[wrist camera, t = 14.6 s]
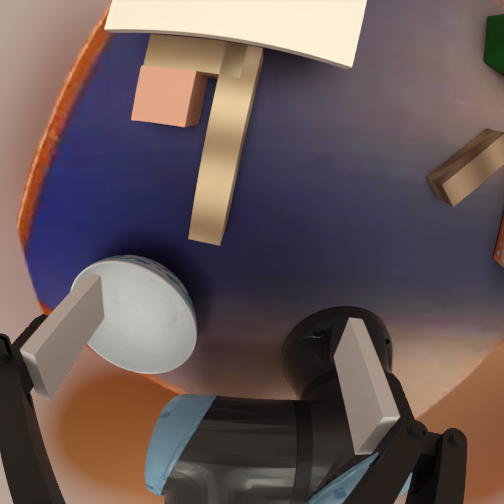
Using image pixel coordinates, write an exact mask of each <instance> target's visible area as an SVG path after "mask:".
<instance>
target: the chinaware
mask: <svg viewBox="0 0 504 504" xmlns="http://www.w3.org/2000/svg"><path fill="white" fill-rule="evenodd" d="M88 273H92V274H96V275H101V282H102V295H103V307H104V317H105V318H104V319H103V321H102V322H101V324H100V325H99V327H98V328H97V329H96V331H95V332H94V334H93V335H92V337H91V338H90V340H89V341H88V343H87V344H88V345H89V346H90V347H91V348H92V349H93V350H94V351H95V352H97V353H98V354H99V355H100V356H102V357H103V358H104V359H106V360H107V361H109V362H111V363H113V364H115V365H117V366H119V367H121V368H124V369H126V370H129V371H133V372H138V373H145V374H158V373H164V372H168V371H171V370H173V369H176V368H178V367H179V366H181V365H182V364H183V363H185V362H186V361H187V360H188V358H189V357H190V356H191V354H192V352H193V350H194V348H195V344H196V339H197V321H196V315H195V310H194V306H193V303H192V300H191V298H190V296H189V294H188V292H187V290H186V288H185V287H184V285H183V284H182V283H181V281H180V280H179V279H178V278H177V277H176V276H175V275H174V274H173V273H172V272H171V271H170V270H169V269H167V268H166V267H164V266H163V265H161V264H160V263H158V262H156V261H154V260H151V259H148V258H145V257H141V256H136V255H118V256H112V257H108V258H105V259H102V260H100V261H98V262H95V263H93V264H92V265H90V266H88V267H87V268H85V269H84V270H83V271H82V272H81V273H80V274H79V275H78V276H77V277H76V279H75V281H74V282H73V285H72V287H71V291H72V290H73V289H74V288H75V287H76V286H77V285H78V284H79V283H80V282H81V281H82V280H83V278H84V277H85V276H86V275H87V274H88ZM71 291H70V292H71Z"/></svg>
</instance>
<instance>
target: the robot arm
mask: <svg viewBox="0 0 504 504" xmlns="http://www.w3.org/2000/svg"><path fill="white" fill-rule="evenodd" d="M104 318H105V317H104V307H103V295H102V282H101V275H96V274H92V273H88V274H87V275H86V276H85V277H84V278H83V280H82V281H81V282H80V283H79V284H78V285H77V286H76V287H75V288H74V289H73V290H72V291H71V292H70V293H69V294H68V295H67V296H66V297H65V299H64V300H63V301H62V302H61V303H60V304H59V305H58V306H57V307H56V308H55V309H54V311H53V312H52V313H51V314H50V315H49V316H48V315H45V314H42V315H41V316H39V317H37V318H35V319H34V320H33V321H32V322H31V323H30V325H29V327H27V328H26V329H25V331H24V332H23V333H22V334H21V335H20V336H19V337H18V338H17V339H16V340H15V342H14V343H13V344H12V345H11V342H10V339H9V337H8V336H7V335H5V334H2V333H0V453H1V457H2V462H3V467H4V471H5V475H6V479H7V482H8V486H9V490H10V493H11V496H12V500H13V503H14V504H66V503H65V501H64V498H63V496H62V494H61V491H60V489H59V486H58V483H57V481H56V478H55V475H54V473H53V470H52V467H51V464H50V461H49V458H48V455H47V452H46V449H45V446H44V442H43V439H42V435H41V432H40V428H39V425H38V421H37V417H36V413H35V409H34V404H33V400H32V396H31V394H30V391H31V390H32V388H33V387H34V388H35V391H36V393H37V395H39V396H41V397H43V398H46V399H48V400H51V399H52V398H53V396H54V394H55V392H56V391H57V390H58V388H59V386H60V385H61V383H62V381H63V380H64V378H65V377H66V375H67V374H68V372H69V370H70V369H71V367H72V366H73V364H74V363H75V361H76V359H77V358H78V356H79V355H80V353H81V352H82V350H83V349H84V347H85V346H86V344H87V343H88V341H89V340H90V338H91V337H92V335H93V334H94V332H95V331H96V329H97V328H98V327H99V325H100V324H101V322H102V321H103V319H104ZM282 360H283V370H284V374H285V377H286V379H287V380H288V382H289V384H290V386H291V388H292V390H293V391H294V393H295V395H296V397H297V399H298V400H274V399H252V398H236V397H223V396H219V395H217V394H214V395H212V396H208V395H191V394H182V395H178V396H176V397H174V398H173V399H171V400H170V401H169V402H168V403H167V404H166V406H165V407H164V409H163V410H162V412H161V414H160V416H159V418H158V420H157V422H156V425H155V427H154V430H153V433H152V436H151V440H150V443H149V447H148V451H147V456H146V462H145V482H146V487H147V489H148V490H149V491H150V492H152V493H154V494H156V495H157V496H161V495H164V497H165V504H394V502H395V500H396V499H397V497H399V496H401V495H402V494H404V493H405V492H406V491H407V490H408V489H409V490H408V495H407V498H406V502H405V504H463V499H464V490H465V477H466V462H467V461H466V460H467V439H466V437H465V435H464V434H463V433H462V432H461V431H460V430H458V429H456V428H450V429H447V430H446V431H445V432H444V433H443V434H437V433H432V432H428V430H427V428H426V427H425V425H424V424H422V423H421V422H419V421H417V420H415V419H414V416H413V414H412V411H411V409H410V406H409V404H408V401H407V398H406V397H405V393H404V391H403V389H402V386H401V384H400V381H399V380H398V379H397V378H396V377H395V375H394V374H393V373H392V341H391V338H390V335H389V333H388V331H387V329H386V327H385V325H384V323H383V322H382V321H381V319H380V318H378V317H377V316H376V315H375V314H373V313H371V312H369V311H367V310H364V309H360V308H355V307H338V308H332V309H328V310H324V311H321V312H319V313H316V314H314V315H312V316H310V317H308V318H307V319H305V320H304V321H302V322H301V323H300V324H299V325H297V326H296V327H295V328H294V329H293V331H292V332H291V333H290V334H289V336H288V337H287V339H286V341H285V343H284V346H283V352H282Z"/></svg>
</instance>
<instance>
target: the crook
mask: <svg viewBox="0 0 504 504" xmlns="http://www.w3.org/2000/svg"><path fill="white" fill-rule="evenodd" d="M262 63H263V48H261V47H255V46H250V45H244V44H238V43H232V42H226V41H219V40H211V39H203V38H193V37H183V36H170V35H152V34H151V36H150V40H149V44H148V48H147V52H146V56H145V61H144V65H143V66H153V67H165V68H175V69H184V70H192V71H197V72H199V73H201V74H202V75H204V76H206V77H207V78H211V79H218V81H217V86H216V90H215V95H214V99H213V104H212V109H211V113H210V118H209V123H208V128H207V133H206V138H205V143H204V148H203V154H202V159H201V164H200V170H199V175H198V181H197V187H196V193H195V199H194V205H193V211H192V217H191V224H190V230H189V237H188V239H191V240H196V241H200V242H205V243H210V244H214V245H219V246H220V244H221V240H222V237H223V234H224V231H225V228H226V225H227V221H228V216H229V211H230V206H231V201H232V196H233V192H234V187H235V182H236V177H237V173H238V168H239V163H240V159H241V154H242V150H243V145H244V140H245V136H246V131H247V127H248V123H249V118H250V114H251V109H252V105H253V101H254V96H255V92H256V88H257V84H258V79H259V75H260V71H261V67H262Z"/></svg>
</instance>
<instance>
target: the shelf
mask: <svg viewBox="0 0 504 504" xmlns="http://www.w3.org/2000/svg"><path fill="white" fill-rule="evenodd" d="M366 2H367V0H113V1H112V4H111V7H110V11H109V14H108V18H107V21H106V25H105V29H104V30H107V31H109V32H111V33H113V32H130V33H159V34H174V35H185V36H195V37H204V38H212V39H219V40H226V41H232V42H238V43H244V44H250V45H255V46H260V47H265V48H270V49H274V50H279V51H283V52H287V53H291V54H295V55H299V56H303V57H307V58H311V59H314V60H318V61H321V62H325V63H328V64H331V65H335V66H338V67H341V68H344V69H347V70H348V69H350V68H352V65H353V61H354V57H355V52H356V48H357V43H358V39H359V35H360V30H361V25H362V21H363V16H364V11H365V7H366Z"/></svg>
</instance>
